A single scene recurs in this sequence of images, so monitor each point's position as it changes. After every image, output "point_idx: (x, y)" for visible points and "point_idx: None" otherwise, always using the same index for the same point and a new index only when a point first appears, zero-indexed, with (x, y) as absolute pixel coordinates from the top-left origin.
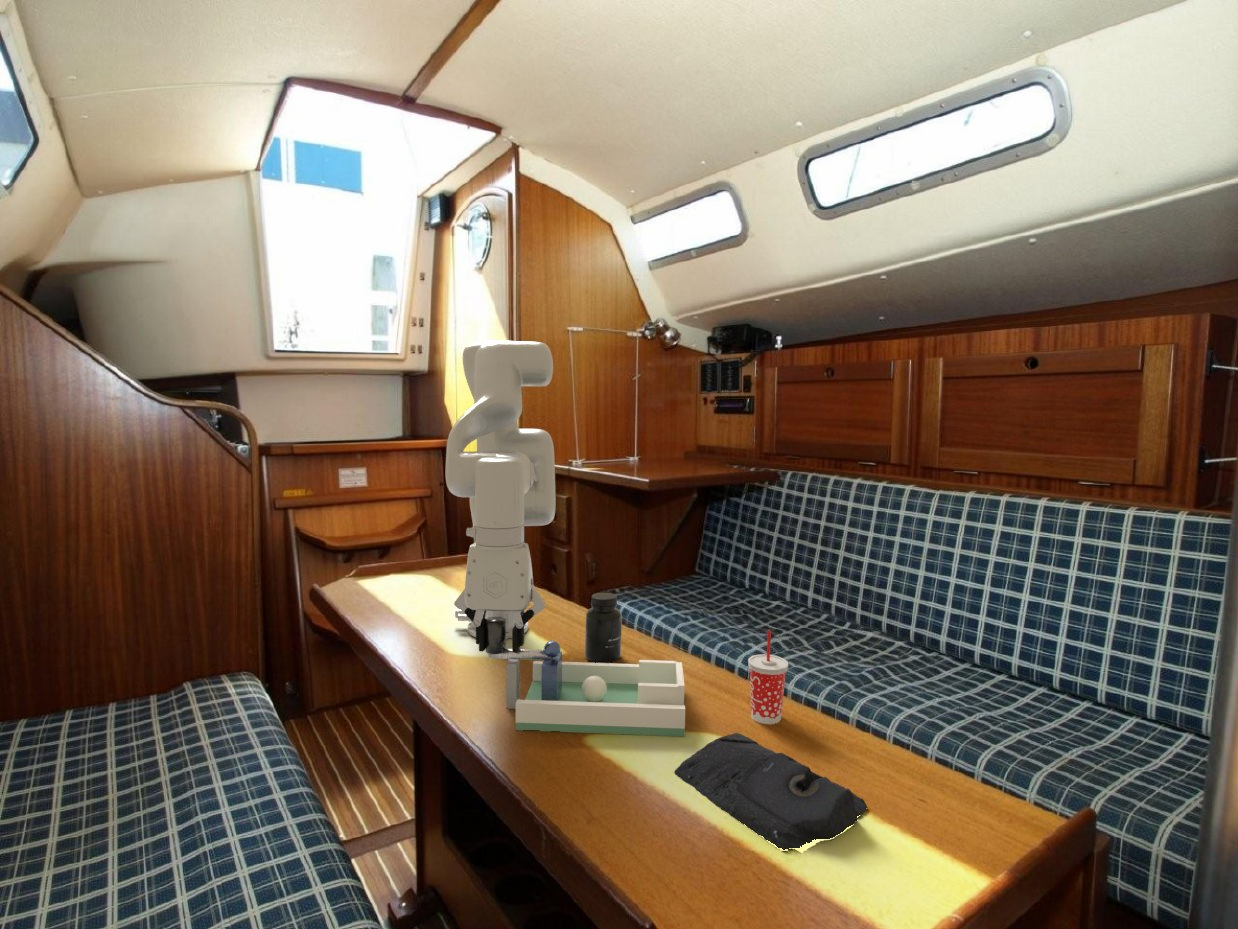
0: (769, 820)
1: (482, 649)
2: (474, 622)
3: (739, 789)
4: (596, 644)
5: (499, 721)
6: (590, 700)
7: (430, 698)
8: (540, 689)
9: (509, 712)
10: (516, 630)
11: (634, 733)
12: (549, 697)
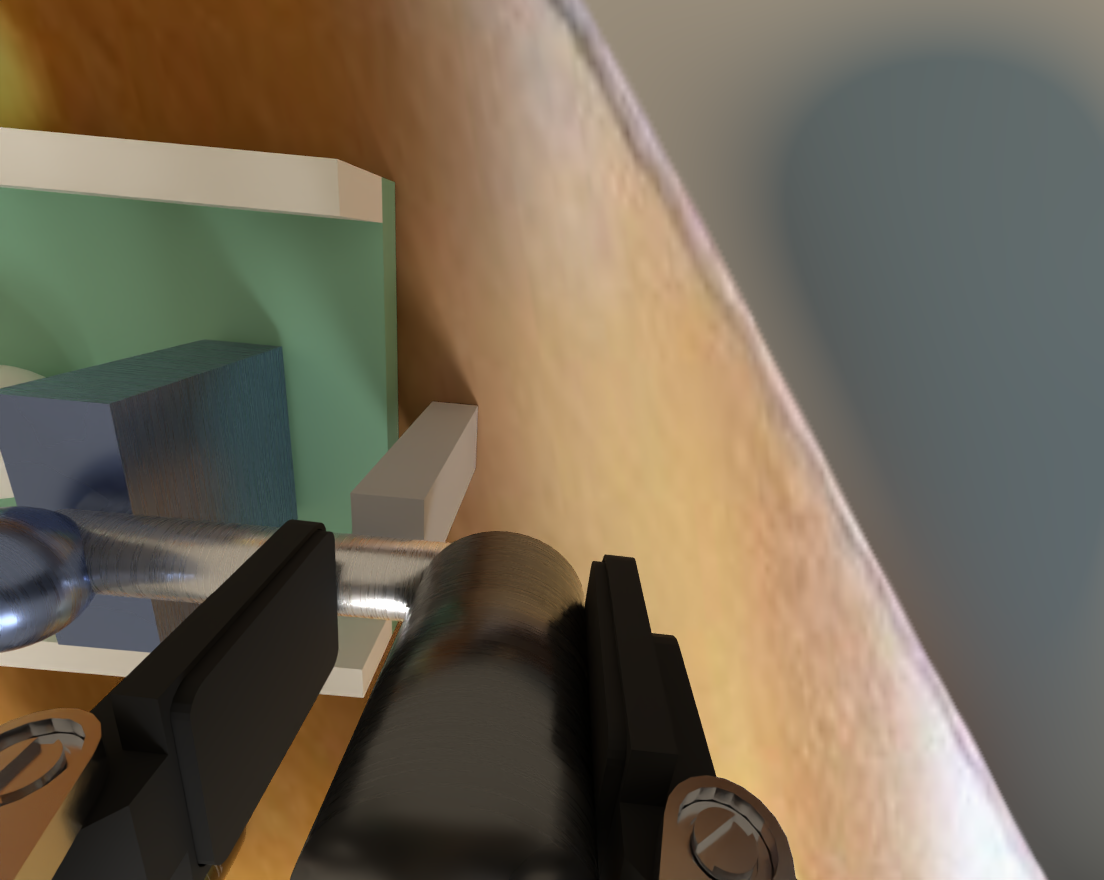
0: None
1: (604, 564)
2: (765, 854)
3: None
4: None
5: (489, 280)
6: (38, 374)
7: (829, 506)
8: (337, 528)
9: (458, 369)
10: (130, 676)
11: None
12: (214, 350)
